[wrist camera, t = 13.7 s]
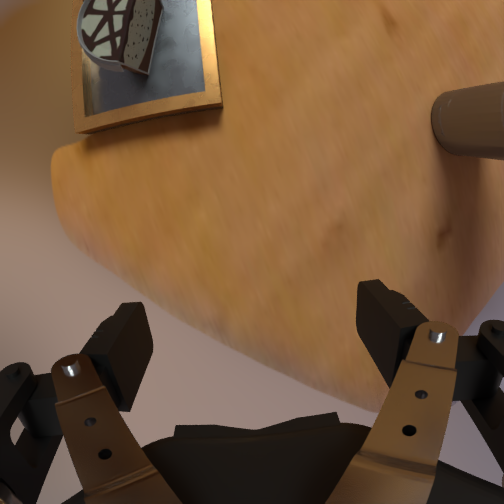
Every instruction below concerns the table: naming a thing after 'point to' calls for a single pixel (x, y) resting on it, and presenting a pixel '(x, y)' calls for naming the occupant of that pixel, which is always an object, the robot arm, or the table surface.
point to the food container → (120, 33)
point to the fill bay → (151, 73)
